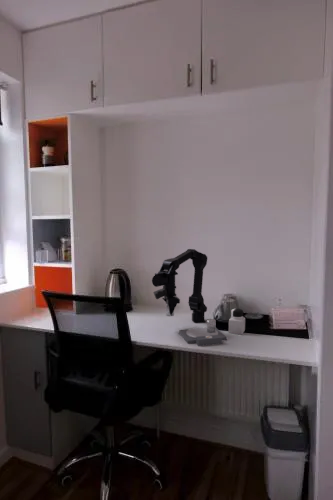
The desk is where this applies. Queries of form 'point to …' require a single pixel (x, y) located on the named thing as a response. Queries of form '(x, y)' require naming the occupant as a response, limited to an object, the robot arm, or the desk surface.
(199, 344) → the scale
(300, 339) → the desk surface
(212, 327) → the cylinder
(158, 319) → the desk surface
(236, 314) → the medicine bottle
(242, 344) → the desk surface
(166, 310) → the cylinder
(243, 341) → the desk surface
